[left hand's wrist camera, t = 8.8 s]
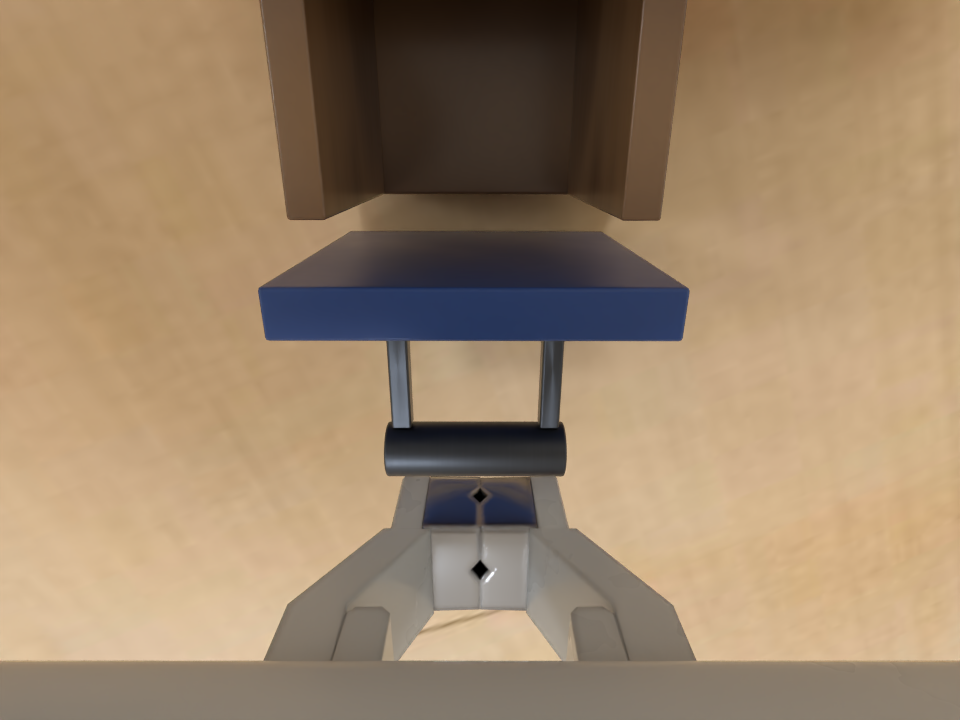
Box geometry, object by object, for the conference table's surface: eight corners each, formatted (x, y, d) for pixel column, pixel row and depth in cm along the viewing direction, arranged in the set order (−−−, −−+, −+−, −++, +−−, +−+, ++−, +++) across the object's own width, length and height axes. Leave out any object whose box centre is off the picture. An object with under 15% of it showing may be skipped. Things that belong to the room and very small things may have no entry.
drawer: (588, 405, 22) (652, 553, 14) (364, 405, 22) (297, 553, 14) (642, -234, 14) (841, -707, 6) (309, -235, 14) (100, -710, 6)
